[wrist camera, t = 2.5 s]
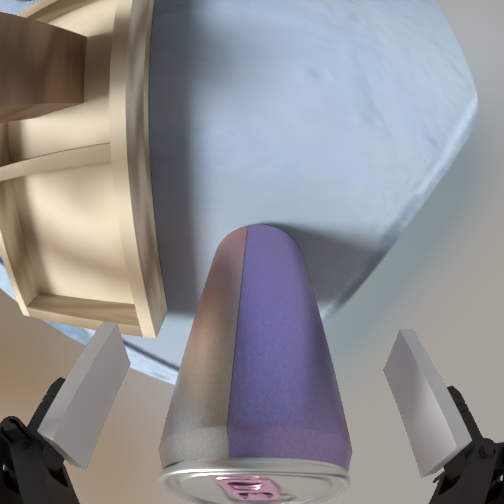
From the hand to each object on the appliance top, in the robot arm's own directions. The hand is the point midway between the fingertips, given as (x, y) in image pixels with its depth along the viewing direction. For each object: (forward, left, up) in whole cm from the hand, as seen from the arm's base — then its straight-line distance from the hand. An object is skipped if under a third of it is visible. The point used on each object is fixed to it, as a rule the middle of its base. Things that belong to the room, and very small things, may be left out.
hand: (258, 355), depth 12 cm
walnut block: (-14, -14, -8) cm, 21 cm away
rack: (-8, -14, -8) cm, 18 cm away
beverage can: (0, 0, -9) cm, 9 cm away
